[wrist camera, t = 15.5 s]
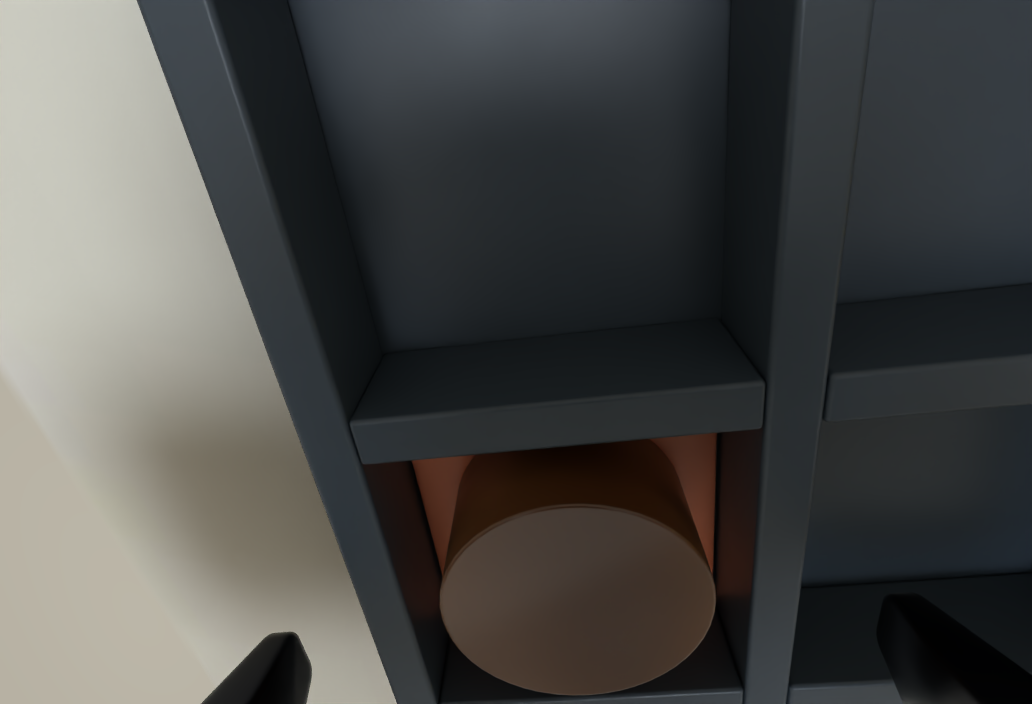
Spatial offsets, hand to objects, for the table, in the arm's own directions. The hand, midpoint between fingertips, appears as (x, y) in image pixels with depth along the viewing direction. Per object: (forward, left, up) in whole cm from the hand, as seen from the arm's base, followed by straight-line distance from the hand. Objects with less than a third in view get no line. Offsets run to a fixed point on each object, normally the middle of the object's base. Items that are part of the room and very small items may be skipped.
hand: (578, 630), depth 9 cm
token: (0, 0, -3) cm, 3 cm away
